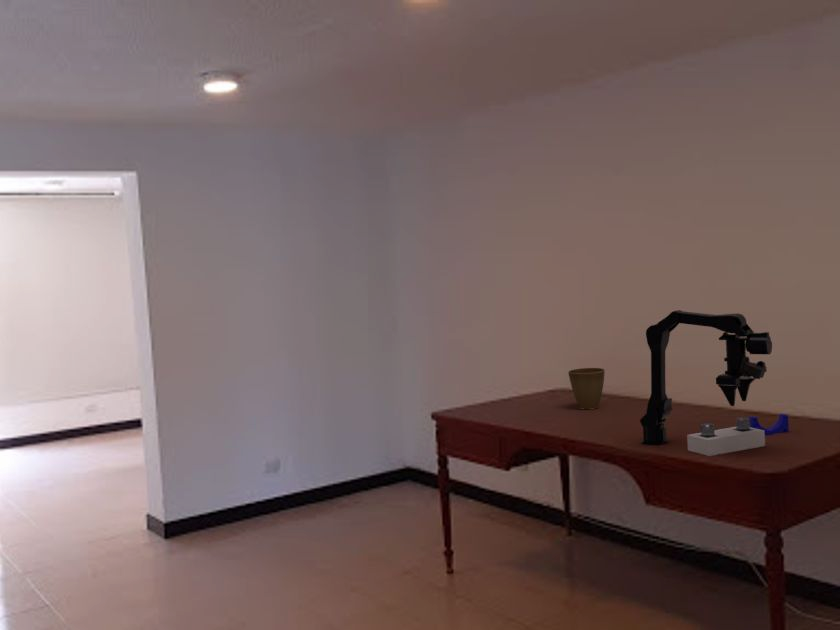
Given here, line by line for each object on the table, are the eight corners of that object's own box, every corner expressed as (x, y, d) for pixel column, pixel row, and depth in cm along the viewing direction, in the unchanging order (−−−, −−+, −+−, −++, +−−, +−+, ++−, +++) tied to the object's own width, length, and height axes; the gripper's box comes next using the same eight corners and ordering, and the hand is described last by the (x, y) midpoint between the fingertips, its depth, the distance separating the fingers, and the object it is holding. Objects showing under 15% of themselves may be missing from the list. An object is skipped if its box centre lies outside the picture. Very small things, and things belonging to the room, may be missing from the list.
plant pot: (576, 404, 368) (574, 367, 367) (610, 405, 361) (608, 367, 360) (565, 411, 355) (563, 373, 354) (601, 412, 348) (599, 372, 347)
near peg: (698, 439, 271) (698, 424, 271) (708, 437, 273) (708, 422, 272) (707, 441, 268) (706, 426, 267) (717, 439, 269) (716, 424, 269)
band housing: (687, 450, 274) (687, 434, 273) (742, 440, 282) (741, 425, 281) (709, 456, 264) (708, 440, 264) (765, 446, 272) (764, 430, 272)
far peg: (733, 432, 276) (733, 418, 276) (743, 431, 278) (743, 417, 278) (742, 434, 273) (742, 420, 272) (752, 433, 274) (752, 418, 274)
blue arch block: (755, 436, 287) (754, 418, 287) (749, 433, 292) (749, 416, 291) (790, 433, 288) (790, 416, 287) (784, 431, 292) (783, 413, 292)
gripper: (750, 358, 256) (752, 410, 257) (773, 350, 270) (775, 400, 271) (714, 357, 264) (716, 408, 265) (738, 350, 278) (740, 398, 279)
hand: (738, 403), depth 270 cm, fingers open, 9 cm apart
